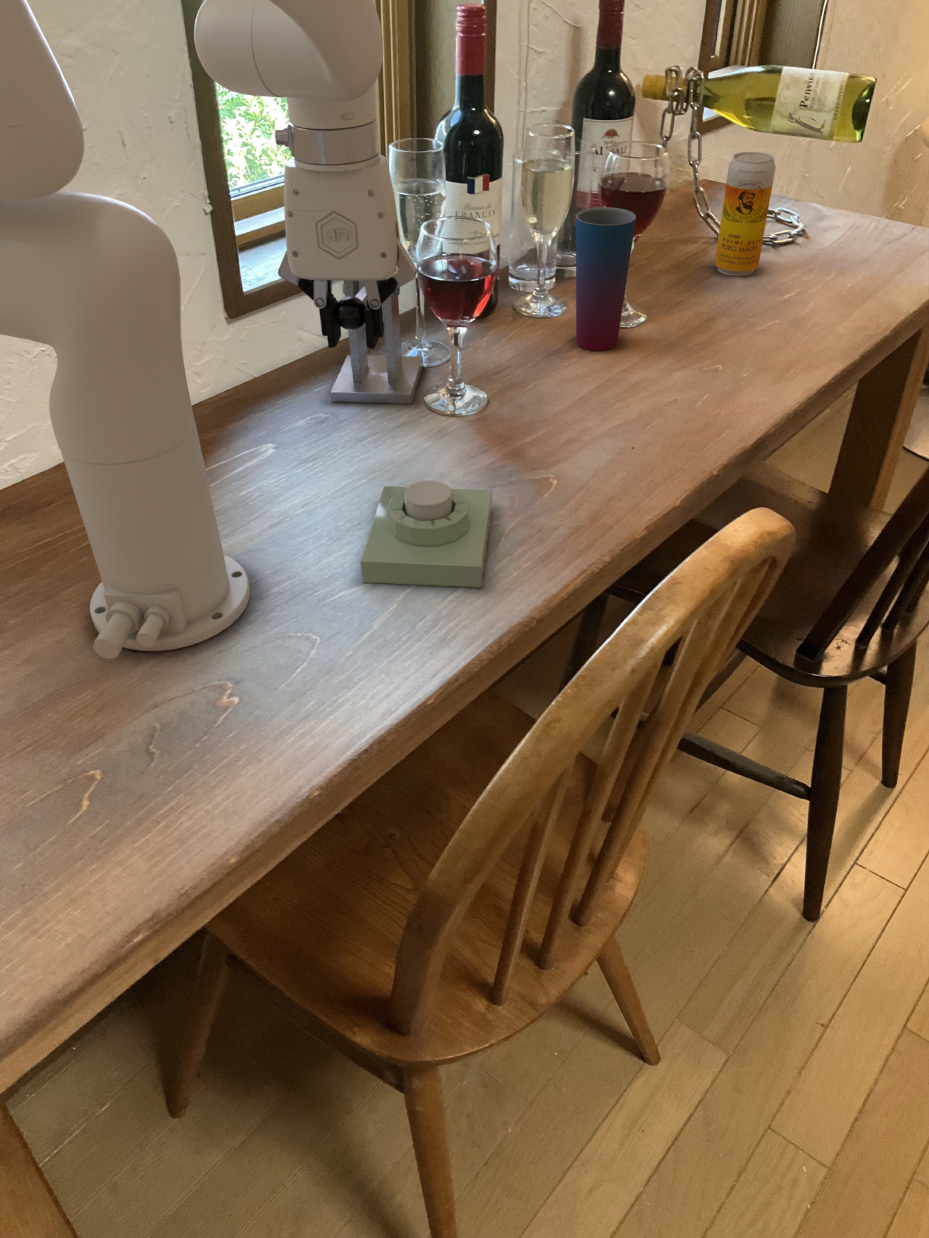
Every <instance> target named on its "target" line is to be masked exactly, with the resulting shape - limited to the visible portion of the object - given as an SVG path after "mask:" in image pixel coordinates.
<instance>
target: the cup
mask: <svg viewBox="0 0 929 1238" xmlns="http://www.w3.org/2000/svg"><path fill="white" fill-rule="evenodd" d="M636 223H637V215H636V213H634V212H633V211H630V210H628V209H624V208H619V207H613V206H612V207H609V206H598V207H590V208H586V209H582V210H580V211H578V212H577V213H576V214H575V316H576V317H575V339H576V340H575V341H576V345H577V346H578V347H579V348H581V349H584V350H587V351H592V352H603V351H610V350H612V349H614V348H615V347H617V345H618V340H619V334H620V328H621V321H622V315H623V307H624V301H625V295H626V288H627V281H628V275H629V268H630V262H631V261H630V260H631V256H632V248H633V241H634V235H635V228H636Z"/></svg>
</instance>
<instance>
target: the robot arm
mask: <svg viewBox="0 0 929 1238" xmlns="http://www.w3.org/2000/svg"><path fill="white" fill-rule="evenodd" d="M383 39H384V38H383V32H382V26H381V21H380V17H379V13H378V11H377V8H376V5H375V2H374V0H203V2H202V4H201V5H200V7H199V9H198V11H197V14H196V17H195V21H194V29H193V40H194V46H195V52H196V54H197V57H198V60H199V62H200V64H201V67H202V68H203V69H204V71H205V73H207V75H208V76H209V77H210V78H211V79H212V80H213V81H214V82H215V83H217V84H218V85H219V86H221V87H222V88H224V89H226V90H227V91H229V92H233V93H236V94H241V95H246V96H255V97H265V98H267V97H268V98H286V102H287V103H286V104H287V111H288V119H289V122H288V123H287V126H283V128H275V131H274V139H275V144H276V146H284V147H285V148H288V150H289V151H290V155H291V158H289V159H288V160H287V161H285V164H284V173H283V174H284V175H283V209H284V228H285V243H286V244H285V245H286V251H285V253H284V255H283V257H282V260H281V263H280V265H279V267H278V270H277V274H278V277H280V279H283V280H285V281H286V282H288V283H290V284H291V285H294V286H297V287H298V288H299V289H300V291H302V292H303V293H304V294H305V295H306V296H307V297H308V298H309V299H310V300H311V301H313V304H314V306H315V307H316V308H318V312H319V320H320V328H321V329H320V330H321V336H322V337H326V338H327V339H326V340H327V347H328V348H329V349H334V348H336V347H337V346H338V343H339V342H340V340H341V337H342V327H341V326H340V325H339V324H338V323H337V321H336V318H335V307H336V305H337V303H338V302H339V300H338V299H337V297H335V295H334V293H333V281H343V280H354V281H364V284H365V289H366V293H367V298H368V300H367V305H366V308H365V310H364V319H365V333H366V345H367V348H368V349H370V350H375V349H376V346H377V343H378V342H379V338H384V336H385V333H384V319H383V305H382V303H383V302H384V301H385V300H386V299H387V298H388V297H389V296H390V295H391V294H392V293H393V292H394V291H395V289H397V288H399V287H400V288H401V287H403V286H405V285H406V284H408V283H410V282H412V281H413V280H414V279H415V278H416V276H417V273H418V268H417V266H416V265H415V264H414V262H413V260H412V258H411V257H410V255H409V254H408V252H407V250H406V248H405V246H404V245H403V244H402V242H401V236H400V227H399V218H398V212H397V205H396V197H395V192H394V187H393V182H392V177H391V172H390V168H389V165H388V161H387V158H386V157H385V156H384V155H382V154H380V153H379V152H380V151H379V138H378V127H377V110H376V97H375V96H376V95H375V83H376V82H377V80H378V77H379V74H380V72H381V69H382V64H383V56H384V40H383ZM81 120H82V119H81V117H80V114H79V111H78V108H77V105H76V102H75V99H74V96H73V94H72V92H71V89H70V87H69V85H68V82H67V81H66V78H65V77H64V74H63V72H62V70H61V68H60V65H59V64H58V62H57V59H56V57H55V56H54V53H53V51H52V49H51V47H50V45H49V43H48V41H47V39H46V37H45V35H44V33H43V31H42V29H41V27H40V25H39V23H38V21H37V19H36V17H35V14H34V13H33V11H32V9H31V7H30V5H29V3H28V1H27V0H0V335H2V336H7V337H12V338H19V339H22V340H23V339H24V340H28V341H32V342H35V343H39V344H43V345H48V346H50V347H51V348H52V349H53V350H54V352H55V355H56V369H55V374H54V377H53V381H52V384H51V387H50V388H51V389H50V393H49V399H48V407H49V408H48V409H49V416H50V422H51V426H52V430H53V433H54V436H55V440H56V443H57V446H58V448H59V450H60V454H61V456H62V460H63V463H64V465H65V470H66V473H67V476H68V478H69V479H68V480H69V482H70V485H71V488H72V491H73V494H74V497H75V500H76V504H77V507H78V511H79V513H80V517H81V520H82V524H83V526H84V529H85V533H86V536H87V538H88V539H87V540H88V541H89V544H90V549H91V552H92V554H93V557H94V560H95V564H96V567H97V570H98V573H99V576H100V580H101V582H100V583H99V584H98V586H96V588H95V590H94V592H93V593H92V596H91V598H90V601H89V614H90V618H91V621H92V623H93V626H94V628H95V630H96V631H97V633H98V635H97V637H96V638H95V640H94V642H93V644H92V648H93V651H94V652H95V653H96V654H97V655H98V656H99V657H101V658H103V659H106V660H107V659H108V660H113V659H116V658H117V657H119V655H120V653H121V651H122V650H123V648H125V649H127V650H128V649H129V650H135V651H141V652H162V651H171V650H177V649H182V648H187V647H189V646H193V645H195V644H198V643H203V642H205V641H206V640H208V639H210V638H213V637H215V636H217V635H218V634H220V633H221V632H223V631H224V630H226V629H227V628H229V627H230V626H231V625H232V624H233V623H234V622H236V620H238V619H239V618H240V617H241V616H242V614H243V613H244V611H245V610H246V608H247V605H248V604H249V601H250V597H251V587H250V580H249V577H248V574H247V571H246V569H244V567H243V566H242V565H241V564H240V563H239V562H238V561H236V560H235V559H234V558H233V557H230V556H228V555H226V554H225V553H224V551H223V546H222V541H221V537H220V532H219V527H218V523H217V518H216V513H215V507H214V503H213V499H212V495H211V490H210V489H211V488H210V486H209V480H208V476H207V471H206V465H205V461H204V457H203V452H202V447H201V442H200V437H199V432H198V429H197V424H196V419H195V416H194V411H193V405H192V402H191V401H192V400H191V396H190V391H189V386H188V380H187V375H186V368H185V360H184V352H183V351H184V350H183V341H182V288H181V287H182V286H181V283H182V282H181V274H180V267H179V266H180V265H179V261H178V257H177V254H176V250H175V249H174V246H173V243H172V242H171V240H170V238H169V237H168V235H167V233H166V232H165V231H164V229H163V228H162V227H161V226H160V225H159V224H158V223H157V222H156V221H155V220H154V219H153V218H152V217H150V216H149V215H148V214H147V213H145V212H144V211H142V210H140V209H139V208H137V207H135V206H133V205H131V204H129V203H127V202H124V201H121V200H119V199H115V198H113V197H108V196H104V195H99V194H94V193H89V192H83V191H82V192H81V191H74V190H66V189H63V188H65V187H66V186H68V185H69V184H70V182H72V181H73V180H74V179H75V177H76V176H77V174H78V172H79V170H80V168H81V165H82V162H83V159H84V154H85V135H84V129H83V123H82V121H81ZM396 268H397V271H395V269H396ZM394 271H395V272H394ZM383 279H384V280H383Z"/></svg>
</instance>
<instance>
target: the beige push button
mask: <svg viewBox="0 0 929 1238" xmlns="http://www.w3.org/2000/svg"><path fill="white" fill-rule="evenodd" d="M406 487H407V489H406V490H405V493H404V495H405V511H406V514H407V515H408V516H409V517H411V518H413V519H416V520H421V521H434V520H438V519H442V518H445V517H447V516H448V515H450V513H451V511H452V492H451V489H450V488H451V487H450V486H449V485H448V484H446V483H444V482H443V481H438V480H419V481H416V482H414V483H412V484H410V485H408V486H406Z"/></svg>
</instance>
